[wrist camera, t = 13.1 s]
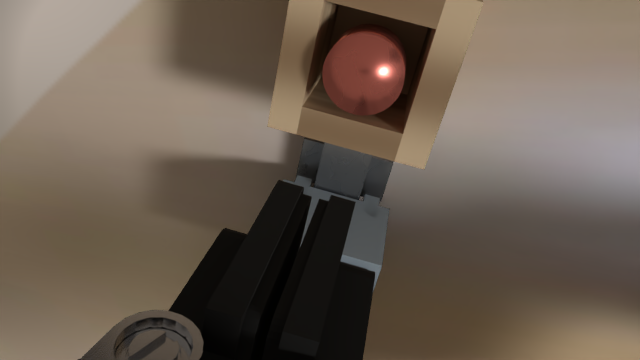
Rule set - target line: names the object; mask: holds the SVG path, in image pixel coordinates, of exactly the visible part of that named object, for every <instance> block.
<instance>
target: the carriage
mask: <svg viewBox="0 0 640 360" xmlns="http://www.w3.org/2000/svg"><path fill="white" fill-rule="evenodd" d="M283 181H284V182H288V183H291V184H295V185H298V186H302V187H304V192H303V194H305V195H309V196H312V199H311V204H310V208H309V212H308V216H307V220H306V225H305V229H304V233H303V237H302V241H303V239H304V236H305V234H306V231H307V229H308V226H309V224H310V221H311V218H312V216H313V213H314V211H315V208H316V206H317V203H318V201H319V199H323V200H326V201H329V199H330V196H331V195H334V196H337V197H341V198H344V199H348V200H351V201H355V202H356V203H355V207H354V211H353V215H352V219H351V223H350V226H349V230H348V234H347V238H346V242H345V246H344V250H343V253H342V257H341V261H340V262H343V263H346V264H350V265H353V266H357V267H360V268H363V269H367V270H370V271H374V272H375V281H374V287H373V291H374V288H375V285H376V282H377V279H378V276H379V273H380V270H381V267H382V262H383V254H384V247H385V239H386V231H387V223H388V215H389V209H388V208H385V207H381V206H379V201H380V198H377V197H374V196H370V195H367V194H365V196H364V200H363V201H360V200H356V199H352V198H349V197H345V196H342V195H338V194H335V193H331V192H328V191H324V190H320V189H317V188H313V187H311V183H312V179H310V178H306V177H302V176H299V175H298V176H297V178H296V180H295V182H292V181H288V180H285V179H284V180H283ZM302 241H301V244H302ZM300 247H301V246H300Z"/></svg>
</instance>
